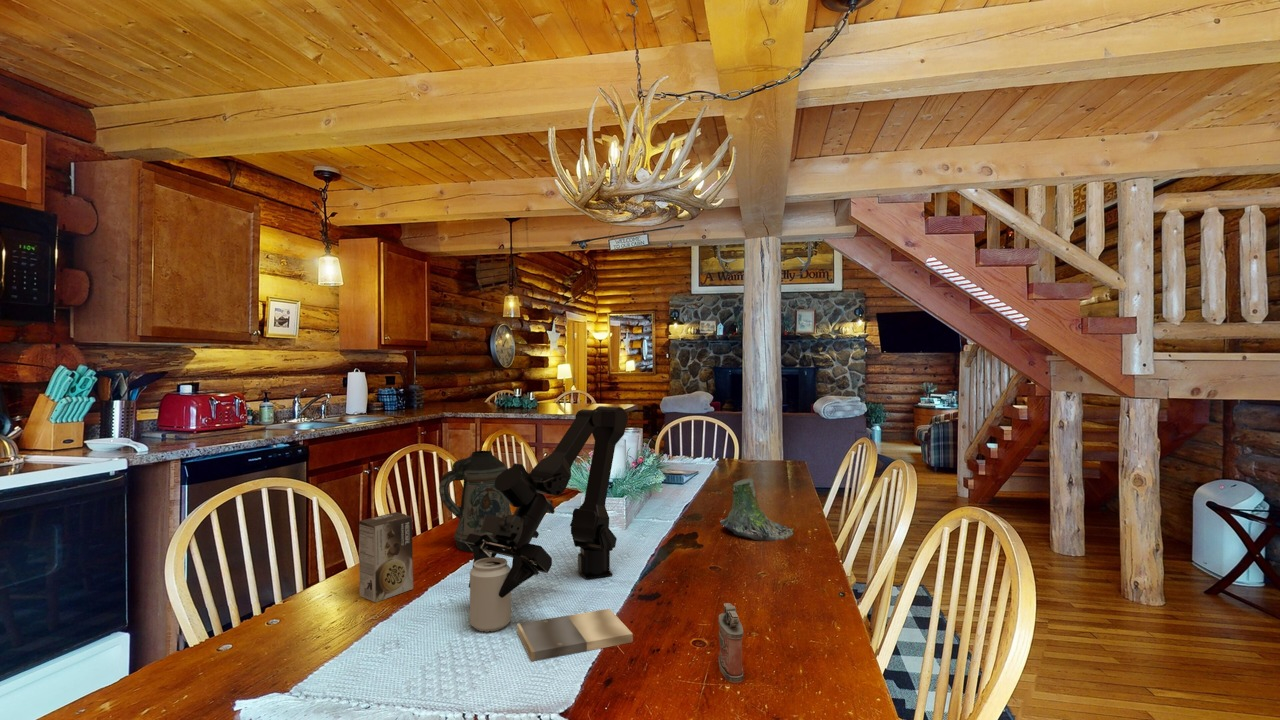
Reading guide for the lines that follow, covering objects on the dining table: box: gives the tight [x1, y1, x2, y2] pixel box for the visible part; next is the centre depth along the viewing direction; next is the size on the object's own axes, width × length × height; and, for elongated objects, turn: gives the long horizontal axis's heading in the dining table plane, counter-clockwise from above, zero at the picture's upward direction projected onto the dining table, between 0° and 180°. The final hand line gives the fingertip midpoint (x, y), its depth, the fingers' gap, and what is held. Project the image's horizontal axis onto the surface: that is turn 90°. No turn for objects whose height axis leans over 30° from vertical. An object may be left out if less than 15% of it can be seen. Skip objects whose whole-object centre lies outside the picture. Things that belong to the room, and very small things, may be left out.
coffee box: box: [358, 511, 414, 603], centre depth 134 cm, size 9×6×16 cm
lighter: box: [718, 602, 744, 683], centre depth 101 cm, size 8×3×10 cm, turn 5°
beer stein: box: [438, 450, 513, 553], centre depth 168 cm, size 16×19×25 cm
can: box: [469, 556, 512, 633], centre depth 117 cm, size 8×8×12 cm
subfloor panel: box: [516, 608, 634, 662], centre depth 112 cm, size 18×12×2 cm, turn 113°
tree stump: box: [719, 477, 795, 542], centre depth 179 cm, size 18×20×18 cm
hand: (485, 592), depth 116 cm, fingers closed on can, 7 cm apart
